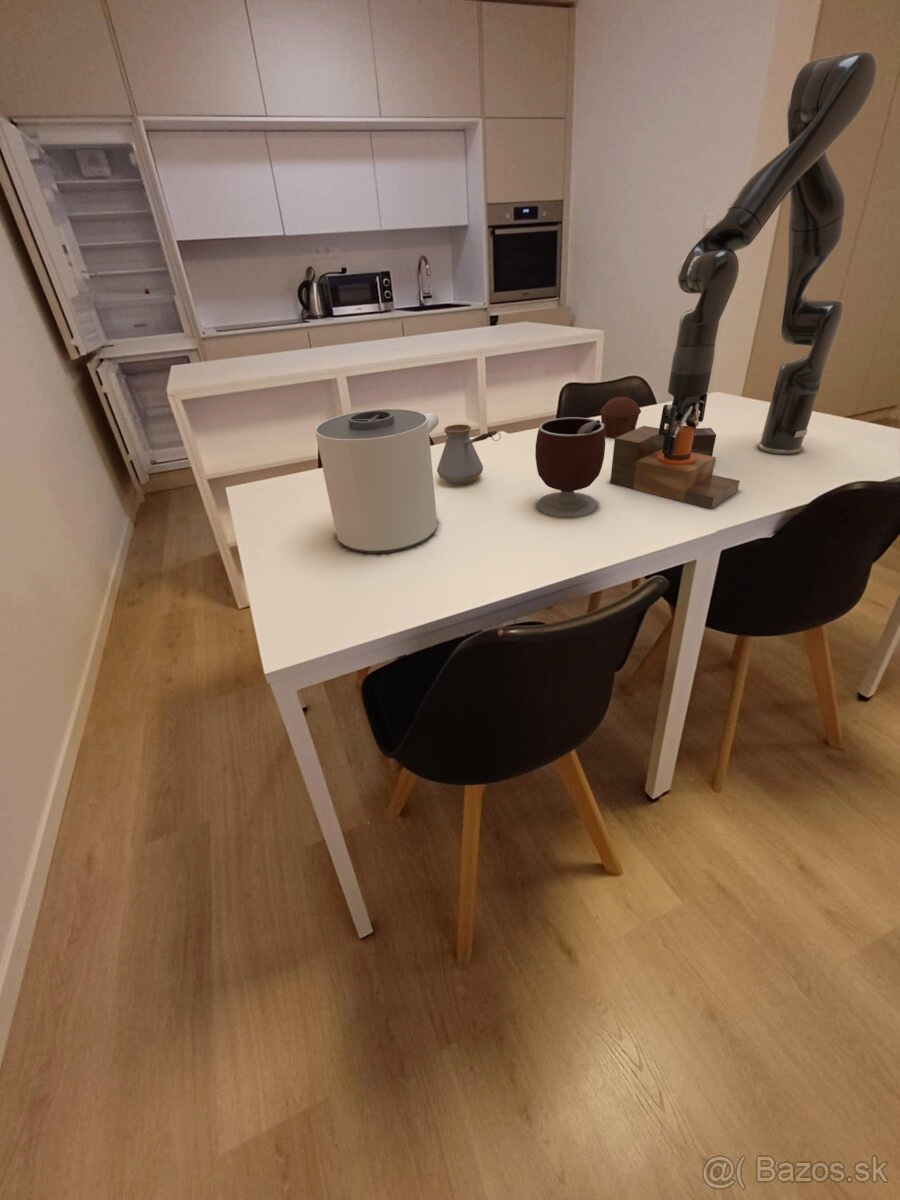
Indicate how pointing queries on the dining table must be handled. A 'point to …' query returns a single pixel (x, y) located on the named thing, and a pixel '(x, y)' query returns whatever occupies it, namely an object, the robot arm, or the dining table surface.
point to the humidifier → (379, 478)
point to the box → (704, 441)
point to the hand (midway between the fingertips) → (677, 448)
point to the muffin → (619, 416)
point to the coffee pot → (461, 456)
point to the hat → (680, 448)
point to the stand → (666, 471)
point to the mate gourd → (569, 463)
